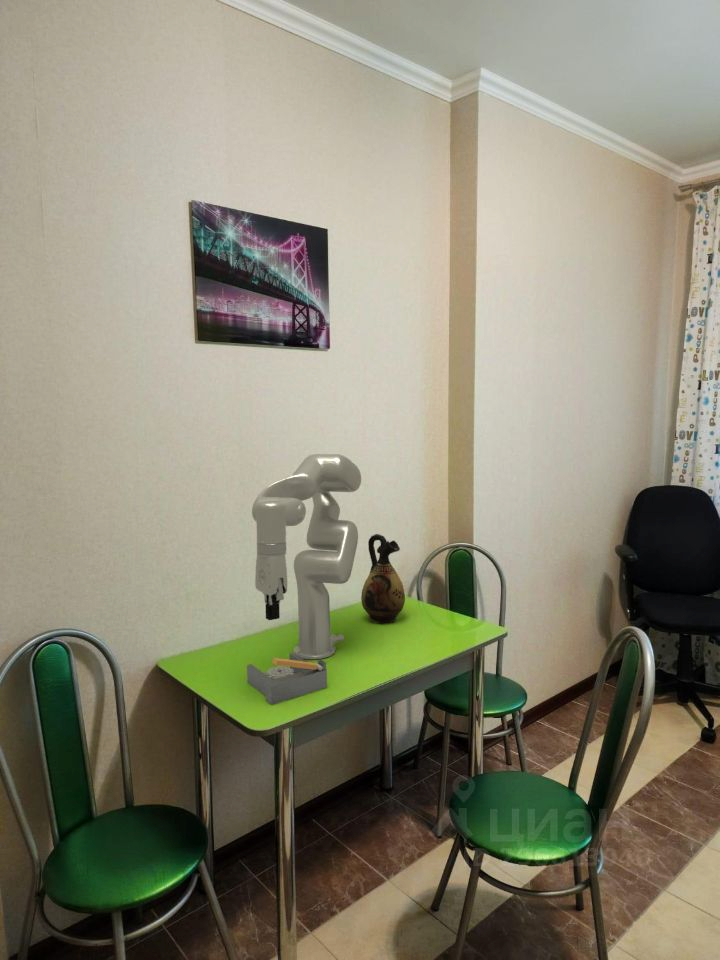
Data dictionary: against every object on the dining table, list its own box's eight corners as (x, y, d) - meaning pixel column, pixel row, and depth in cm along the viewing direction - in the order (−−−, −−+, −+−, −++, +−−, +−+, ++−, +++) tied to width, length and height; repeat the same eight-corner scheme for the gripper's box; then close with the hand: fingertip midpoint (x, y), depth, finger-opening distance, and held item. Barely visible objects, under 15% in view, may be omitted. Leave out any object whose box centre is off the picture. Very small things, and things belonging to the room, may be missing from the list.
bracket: (296, 668, 184) (296, 645, 183) (327, 687, 171) (326, 663, 170) (243, 683, 174) (242, 659, 173) (271, 705, 161) (270, 679, 161)
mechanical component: (301, 692, 169) (295, 677, 179) (301, 676, 169) (295, 661, 178) (264, 697, 166) (259, 681, 176) (263, 680, 166) (258, 666, 175)
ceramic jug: (413, 617, 227) (413, 534, 224) (388, 629, 215) (387, 542, 211) (375, 609, 237) (374, 529, 234) (349, 620, 225) (347, 536, 222)
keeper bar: (316, 667, 172) (317, 662, 172) (322, 670, 170) (323, 666, 170) (271, 661, 164) (272, 657, 164) (276, 665, 161) (278, 660, 161)
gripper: (246, 546, 169) (247, 614, 171) (271, 555, 157) (272, 628, 158) (272, 543, 174) (273, 609, 175) (298, 551, 161) (299, 623, 163)
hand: (272, 618), depth 167 cm, fingers closed
